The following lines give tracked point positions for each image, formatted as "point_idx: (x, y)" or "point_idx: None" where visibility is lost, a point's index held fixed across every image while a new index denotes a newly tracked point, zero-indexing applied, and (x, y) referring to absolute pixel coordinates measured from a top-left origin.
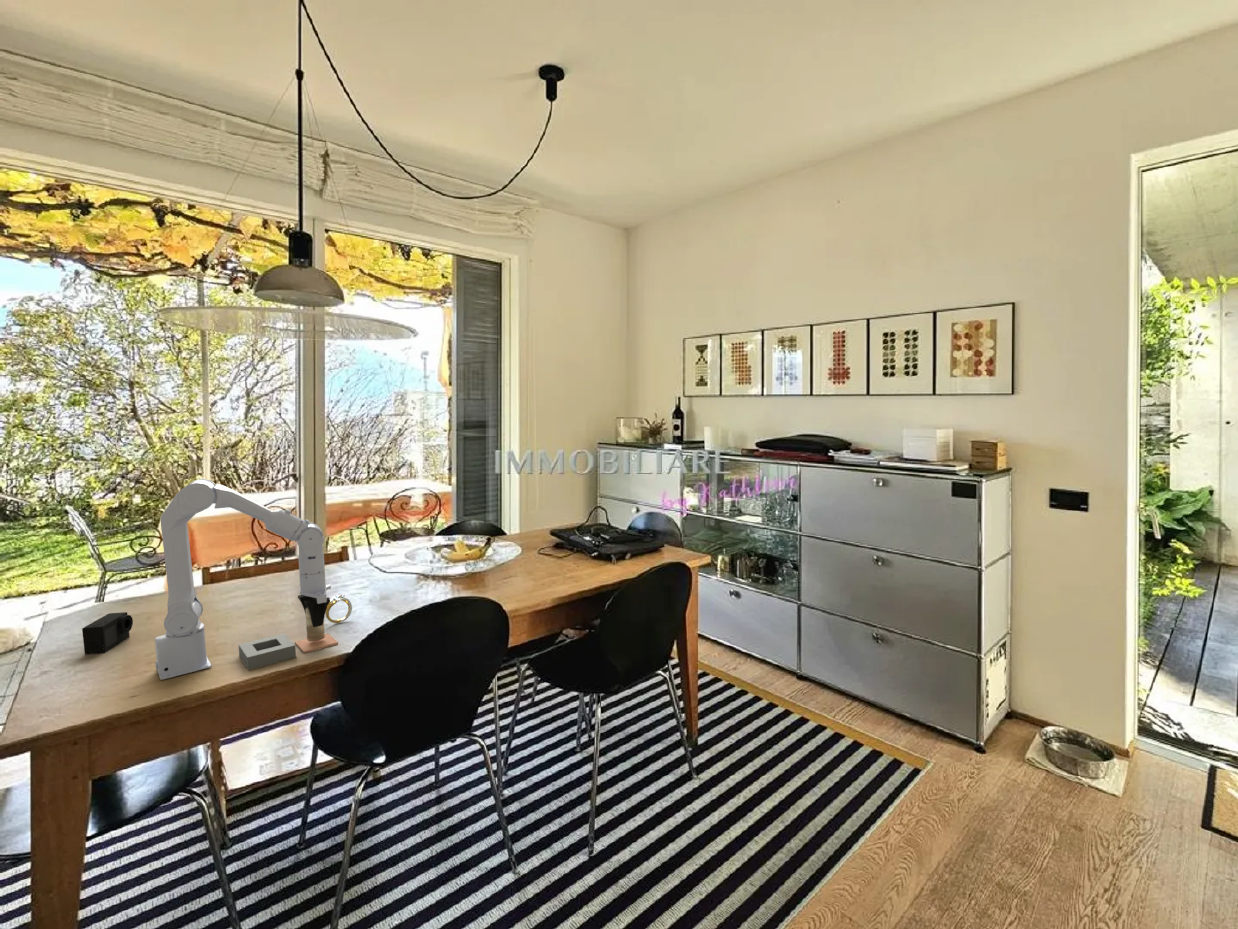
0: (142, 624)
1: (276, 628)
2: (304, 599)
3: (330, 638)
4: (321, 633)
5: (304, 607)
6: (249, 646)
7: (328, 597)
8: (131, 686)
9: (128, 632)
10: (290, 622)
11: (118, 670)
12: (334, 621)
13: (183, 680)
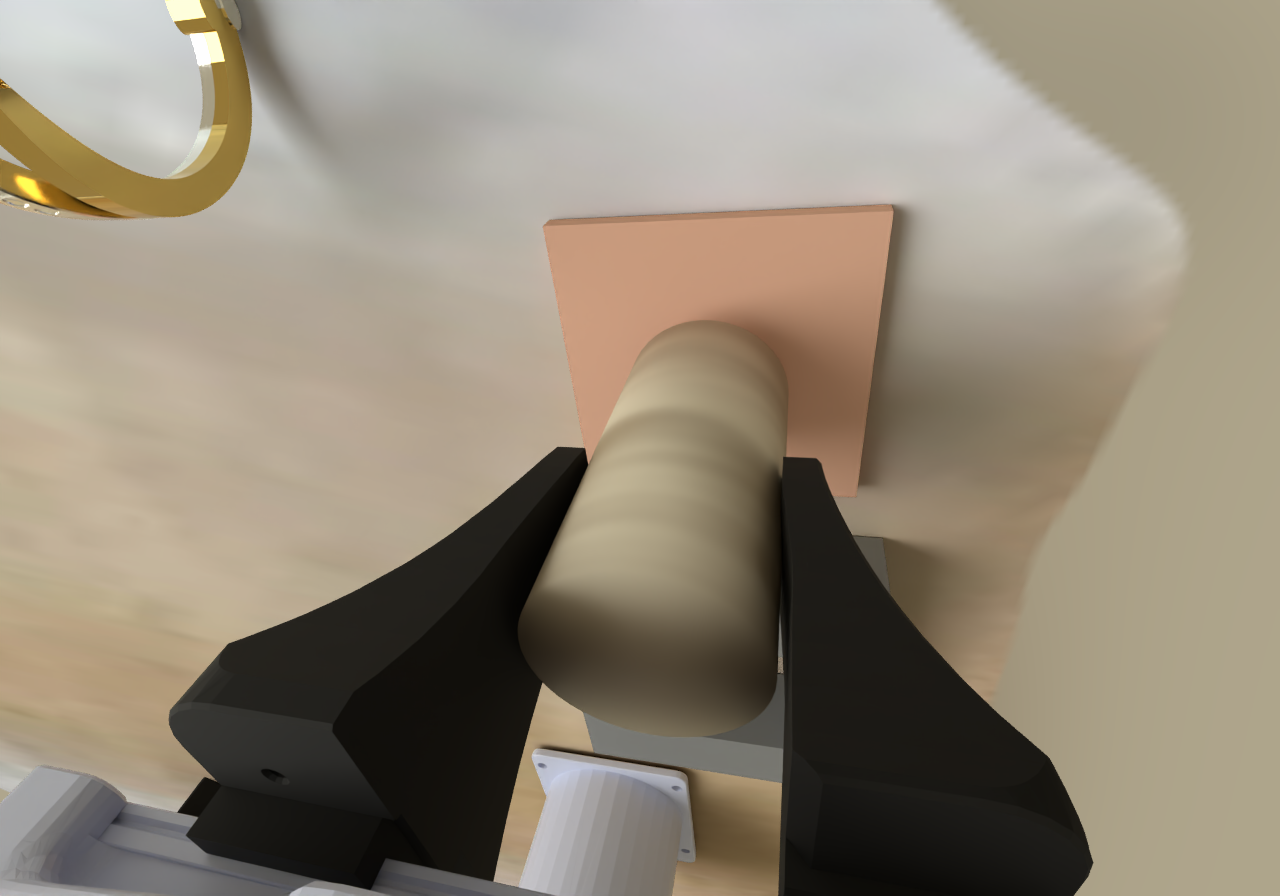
0: (83, 735)
1: (233, 470)
2: (485, 835)
3: (714, 247)
4: (781, 399)
5: (532, 708)
6: (672, 743)
7: (844, 786)
8: (677, 881)
9: (194, 798)
10: (128, 379)
11: (506, 856)
12: (234, 81)
13: (749, 830)
